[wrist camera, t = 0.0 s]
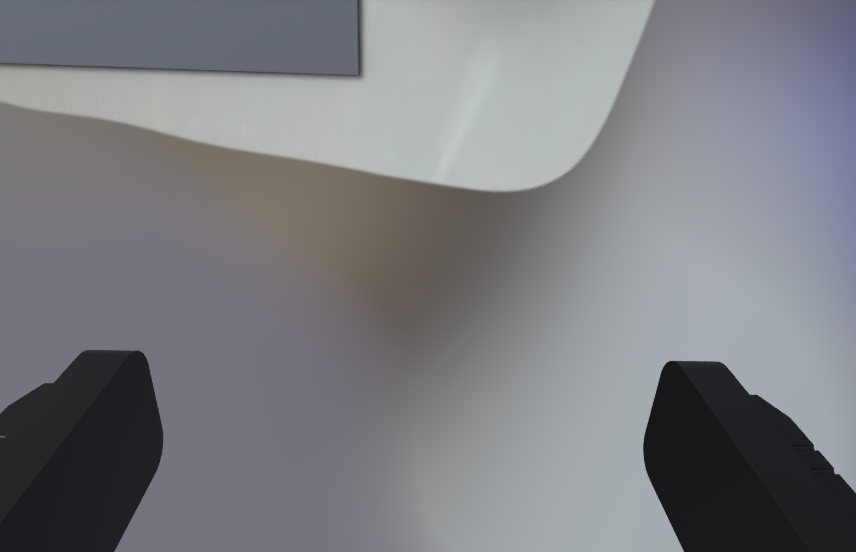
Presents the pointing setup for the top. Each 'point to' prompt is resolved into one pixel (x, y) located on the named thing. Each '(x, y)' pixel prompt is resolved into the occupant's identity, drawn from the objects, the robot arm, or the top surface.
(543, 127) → the top surface
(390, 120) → the top surface
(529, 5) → the top surface
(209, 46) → the rubber mat
